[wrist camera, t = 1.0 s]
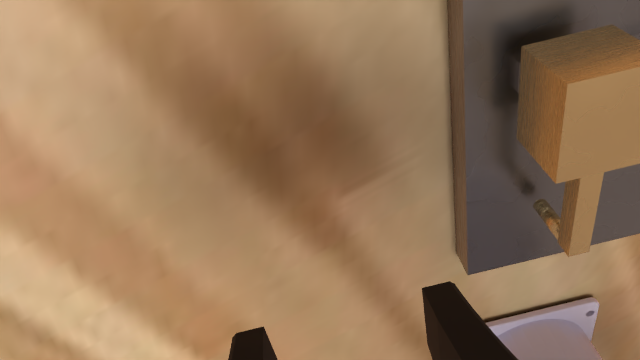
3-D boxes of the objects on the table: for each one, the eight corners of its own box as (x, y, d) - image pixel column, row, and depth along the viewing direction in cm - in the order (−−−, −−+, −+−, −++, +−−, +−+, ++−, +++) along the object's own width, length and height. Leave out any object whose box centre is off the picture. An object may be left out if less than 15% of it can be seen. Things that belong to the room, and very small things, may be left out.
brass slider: (573, 201, 22) (622, 257, 19) (505, 217, 22) (544, 276, 19) (601, 17, 17) (671, 58, 14) (513, 39, 17) (567, 84, 14)
